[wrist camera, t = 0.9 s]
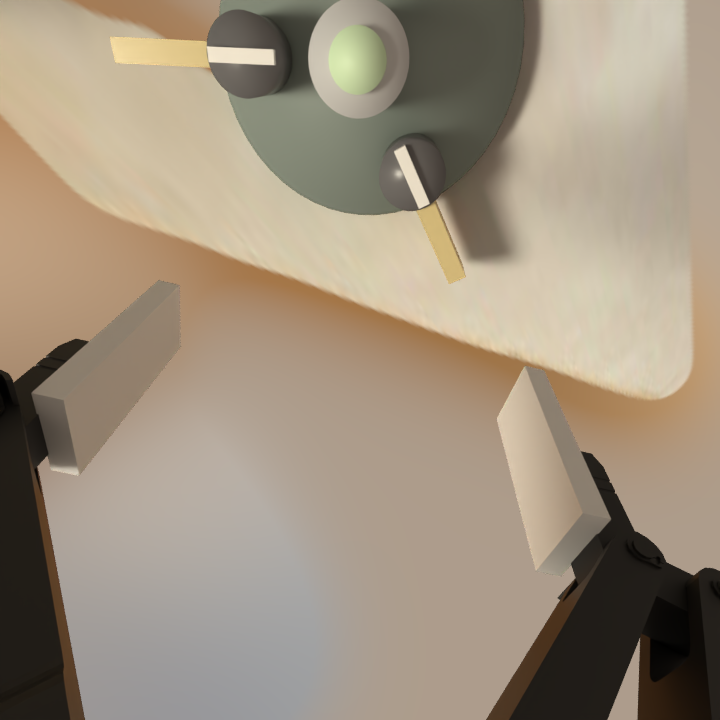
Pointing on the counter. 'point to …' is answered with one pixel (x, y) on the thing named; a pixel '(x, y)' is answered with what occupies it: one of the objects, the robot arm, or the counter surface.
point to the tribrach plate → (426, 106)
